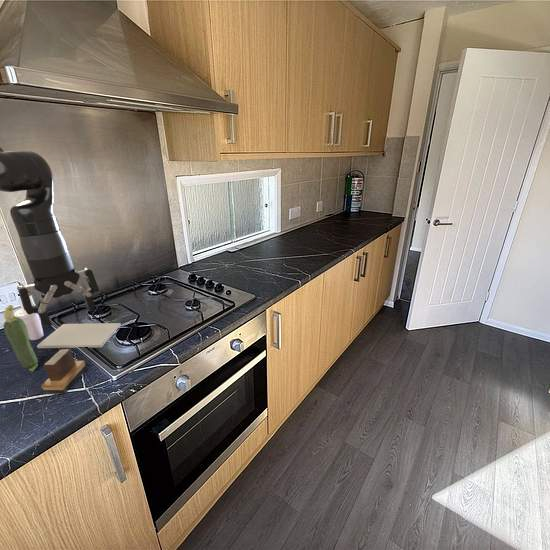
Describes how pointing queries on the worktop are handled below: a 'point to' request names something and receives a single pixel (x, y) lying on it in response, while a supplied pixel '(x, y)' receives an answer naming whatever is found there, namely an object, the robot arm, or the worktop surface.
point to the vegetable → (19, 339)
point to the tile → (80, 335)
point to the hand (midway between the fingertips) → (70, 317)
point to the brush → (62, 372)
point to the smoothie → (30, 323)
